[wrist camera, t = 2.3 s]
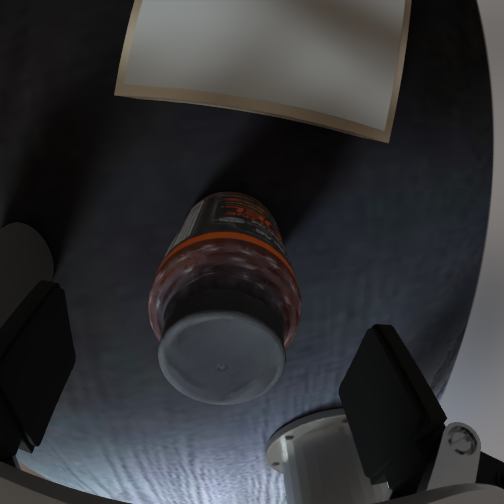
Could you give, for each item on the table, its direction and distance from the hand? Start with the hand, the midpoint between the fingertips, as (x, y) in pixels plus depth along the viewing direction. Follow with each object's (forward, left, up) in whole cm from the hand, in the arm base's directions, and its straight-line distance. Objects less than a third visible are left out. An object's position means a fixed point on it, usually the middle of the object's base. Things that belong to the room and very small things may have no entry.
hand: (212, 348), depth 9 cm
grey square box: (+13, 0, -11) cm, 17 cm away
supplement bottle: (-1, 0, -11) cm, 11 cm away
